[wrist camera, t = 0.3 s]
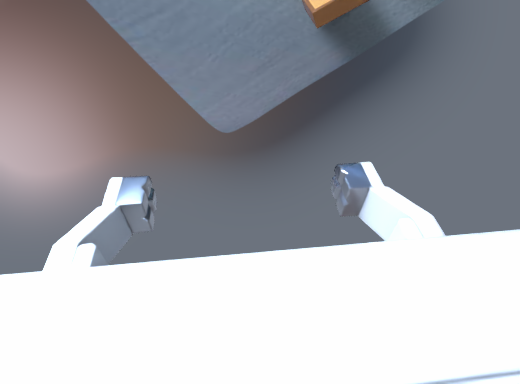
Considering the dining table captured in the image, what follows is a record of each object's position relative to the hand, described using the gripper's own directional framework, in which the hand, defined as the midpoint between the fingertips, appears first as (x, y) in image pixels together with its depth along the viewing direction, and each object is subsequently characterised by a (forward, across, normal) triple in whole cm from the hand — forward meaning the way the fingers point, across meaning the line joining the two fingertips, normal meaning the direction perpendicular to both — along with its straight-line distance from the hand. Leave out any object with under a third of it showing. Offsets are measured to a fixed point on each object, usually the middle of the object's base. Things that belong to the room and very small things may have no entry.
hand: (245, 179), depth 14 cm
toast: (+47, -17, +5) cm, 50 cm away
